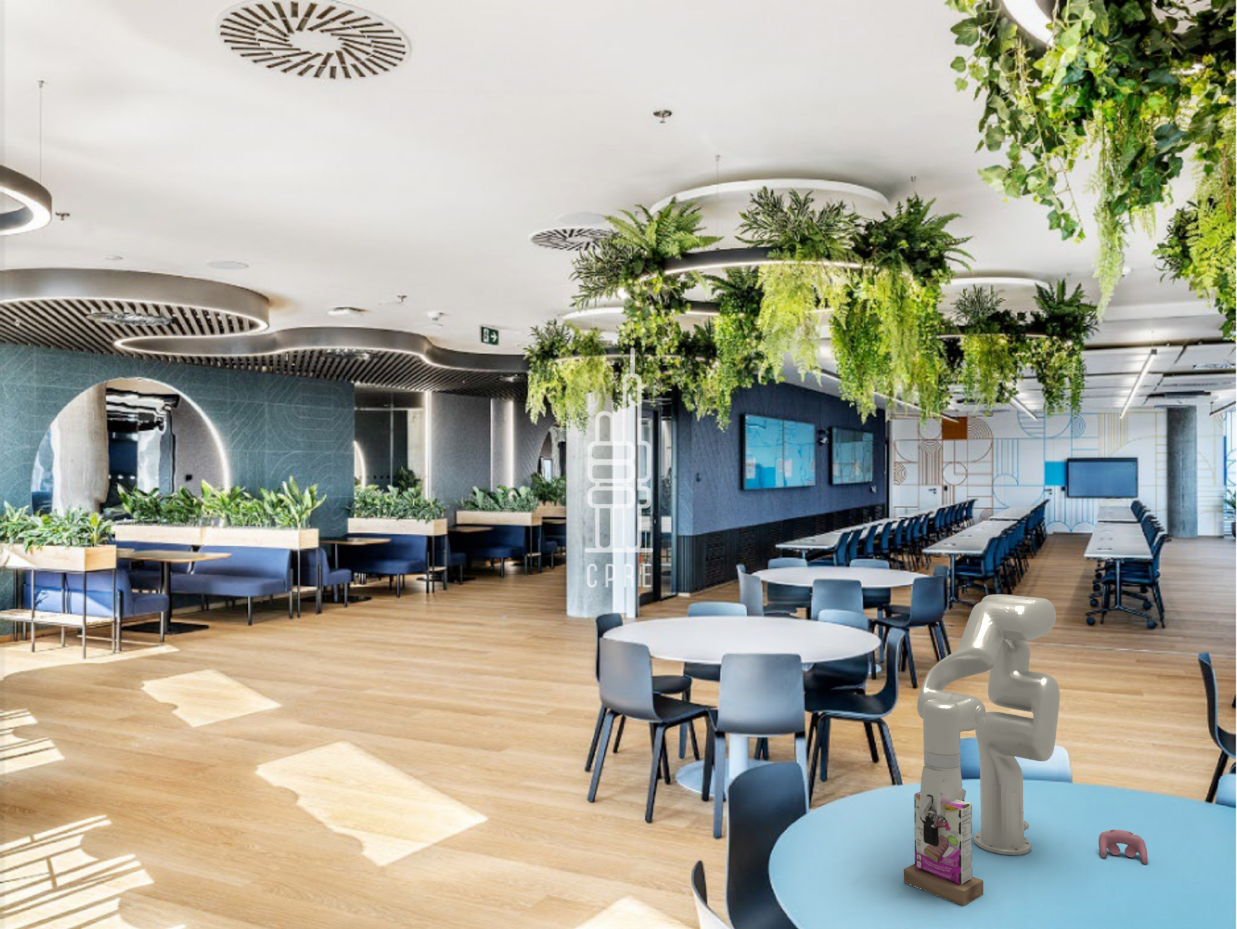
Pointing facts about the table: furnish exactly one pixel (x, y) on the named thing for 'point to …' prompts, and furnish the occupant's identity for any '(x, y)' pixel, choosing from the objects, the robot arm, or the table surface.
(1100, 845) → the video game controller
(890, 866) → the table surface
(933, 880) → the walnut base
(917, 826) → the candy bar box
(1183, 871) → the table surface
